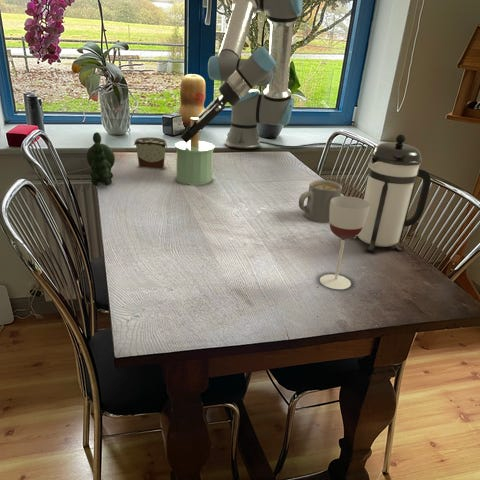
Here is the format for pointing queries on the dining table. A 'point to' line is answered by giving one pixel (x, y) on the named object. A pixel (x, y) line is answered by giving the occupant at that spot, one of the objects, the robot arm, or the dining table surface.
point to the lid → (194, 143)
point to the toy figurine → (100, 161)
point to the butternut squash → (191, 97)
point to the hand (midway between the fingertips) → (183, 138)
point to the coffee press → (392, 193)
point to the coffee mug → (319, 199)
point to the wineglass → (345, 230)
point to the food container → (151, 152)
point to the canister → (194, 167)
